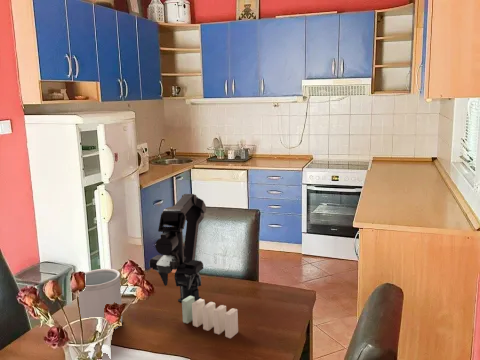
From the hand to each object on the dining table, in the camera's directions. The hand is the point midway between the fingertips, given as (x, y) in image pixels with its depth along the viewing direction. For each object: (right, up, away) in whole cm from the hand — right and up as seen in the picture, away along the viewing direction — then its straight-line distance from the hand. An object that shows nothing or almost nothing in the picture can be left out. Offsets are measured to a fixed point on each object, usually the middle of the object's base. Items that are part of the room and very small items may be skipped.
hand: (177, 287), depth 152 cm
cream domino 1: (+8, -12, -3) cm, 14 cm away
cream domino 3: (+16, -12, -8) cm, 21 cm away
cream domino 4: (+19, -13, -11) cm, 25 cm away
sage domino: (+4, -11, -1) cm, 12 cm away
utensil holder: (-26, -12, -2) cm, 29 cm away
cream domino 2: (+12, -12, -6) cm, 18 cm away
